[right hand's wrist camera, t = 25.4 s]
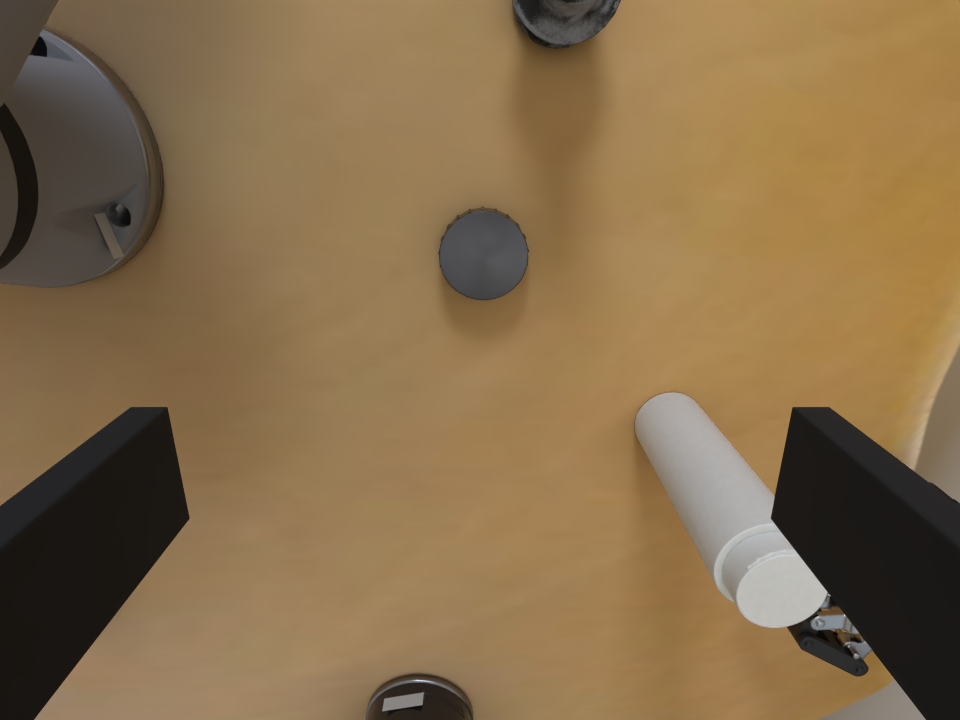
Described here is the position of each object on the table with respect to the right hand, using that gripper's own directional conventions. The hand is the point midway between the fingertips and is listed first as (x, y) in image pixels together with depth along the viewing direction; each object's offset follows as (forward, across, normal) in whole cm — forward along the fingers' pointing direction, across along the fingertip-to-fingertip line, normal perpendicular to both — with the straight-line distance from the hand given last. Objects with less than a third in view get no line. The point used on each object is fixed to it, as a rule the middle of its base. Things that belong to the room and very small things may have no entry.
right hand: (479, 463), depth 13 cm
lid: (+26, 0, 0) cm, 26 cm away
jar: (+28, +14, -13) cm, 33 cm away
